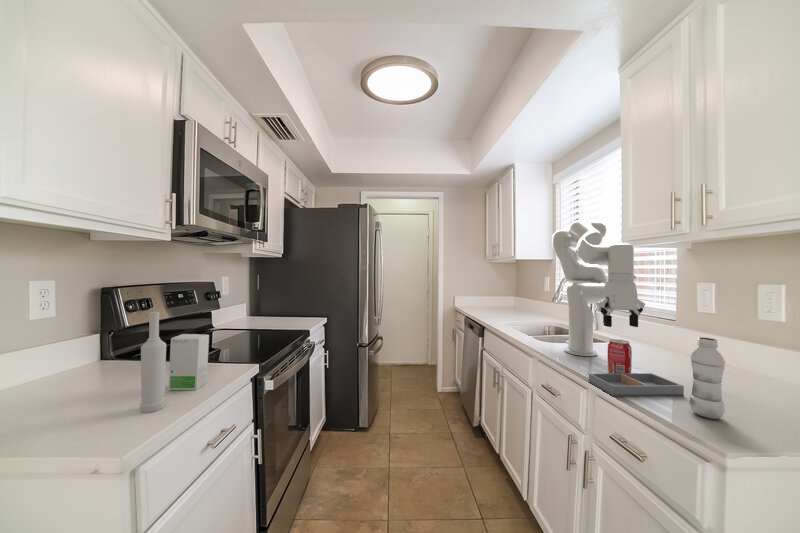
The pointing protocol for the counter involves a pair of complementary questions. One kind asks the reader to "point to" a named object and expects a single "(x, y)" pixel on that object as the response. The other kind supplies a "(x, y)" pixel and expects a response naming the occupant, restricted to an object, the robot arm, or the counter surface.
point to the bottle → (153, 368)
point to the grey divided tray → (635, 384)
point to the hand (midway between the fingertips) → (620, 326)
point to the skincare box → (188, 362)
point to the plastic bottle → (707, 379)
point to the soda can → (619, 356)
